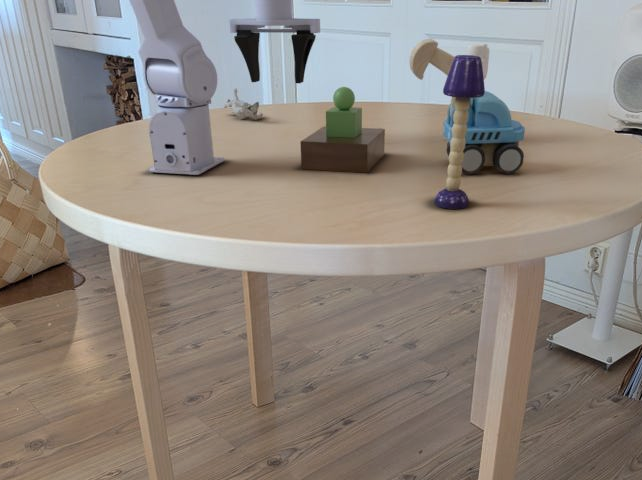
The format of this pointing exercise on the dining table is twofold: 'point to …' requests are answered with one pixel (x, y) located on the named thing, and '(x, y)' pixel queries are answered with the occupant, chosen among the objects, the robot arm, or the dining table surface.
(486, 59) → the figurine
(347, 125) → the green toy
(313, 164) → the walnut block
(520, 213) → the dining table surface
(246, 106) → the toy cat
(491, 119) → the toy excavator
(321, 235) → the dining table surface
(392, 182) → the dining table surface
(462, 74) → the toy lamp
